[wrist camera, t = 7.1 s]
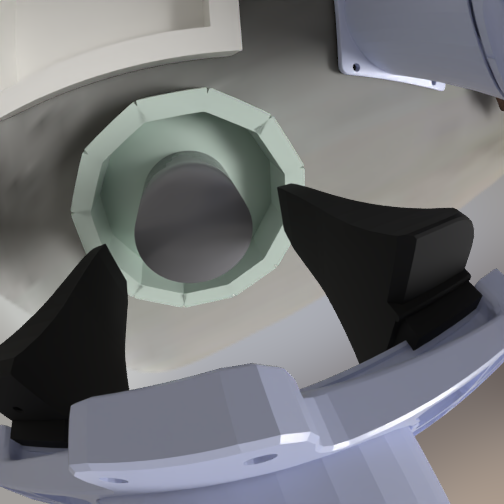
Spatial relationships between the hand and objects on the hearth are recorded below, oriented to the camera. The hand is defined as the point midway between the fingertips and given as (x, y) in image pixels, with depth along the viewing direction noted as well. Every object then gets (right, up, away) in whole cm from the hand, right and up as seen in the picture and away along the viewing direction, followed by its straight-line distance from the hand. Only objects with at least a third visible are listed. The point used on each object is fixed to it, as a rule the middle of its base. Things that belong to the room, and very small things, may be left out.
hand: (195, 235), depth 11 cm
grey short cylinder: (-1, +2, +3) cm, 4 cm away
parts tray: (-5, +13, -4) cm, 14 cm away
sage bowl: (-1, +3, +4) cm, 5 cm away
